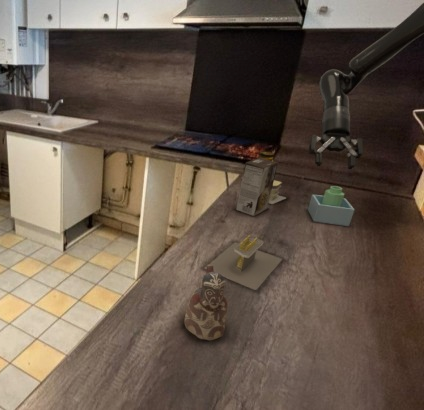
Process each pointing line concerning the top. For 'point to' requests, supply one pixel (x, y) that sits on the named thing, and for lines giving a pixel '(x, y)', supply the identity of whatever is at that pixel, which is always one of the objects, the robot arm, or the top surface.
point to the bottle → (333, 196)
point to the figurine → (208, 307)
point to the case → (330, 211)
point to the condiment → (266, 155)
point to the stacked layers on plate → (275, 193)
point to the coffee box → (256, 186)
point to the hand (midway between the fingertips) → (334, 166)
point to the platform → (245, 263)
